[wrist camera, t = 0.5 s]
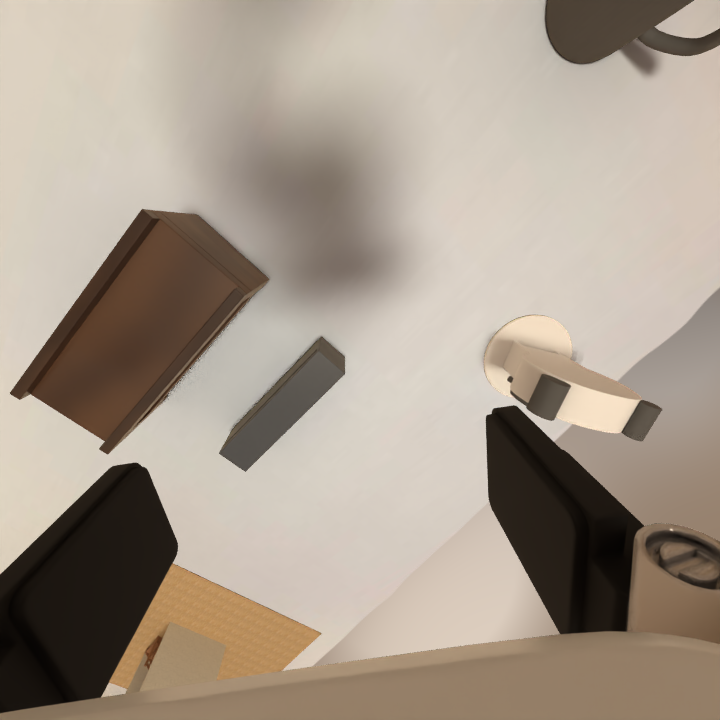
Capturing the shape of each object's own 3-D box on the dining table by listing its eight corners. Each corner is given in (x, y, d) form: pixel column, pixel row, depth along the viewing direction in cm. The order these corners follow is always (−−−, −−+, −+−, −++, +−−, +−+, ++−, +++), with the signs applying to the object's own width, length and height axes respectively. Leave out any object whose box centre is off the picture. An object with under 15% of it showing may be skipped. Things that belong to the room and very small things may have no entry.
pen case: (231, 429, 48) (218, 453, 42) (321, 336, 44) (318, 350, 38) (256, 446, 49) (245, 472, 44) (345, 357, 45) (345, 374, 40)
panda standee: (466, 385, 47) (519, 452, 33) (499, 303, 43) (574, 339, 29) (547, 404, 48) (630, 476, 34) (585, 327, 45) (696, 371, 31)
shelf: (90, 353, 43) (9, 393, 33) (197, 214, 38) (141, 208, 28) (161, 403, 46) (107, 455, 35) (269, 279, 41) (244, 296, 30)
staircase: (169, 621, 60) (108, 758, 44) (226, 645, 63) (187, 782, 47) (145, 649, 62) (79, 789, 46) (201, 671, 65) (156, 810, 49)
